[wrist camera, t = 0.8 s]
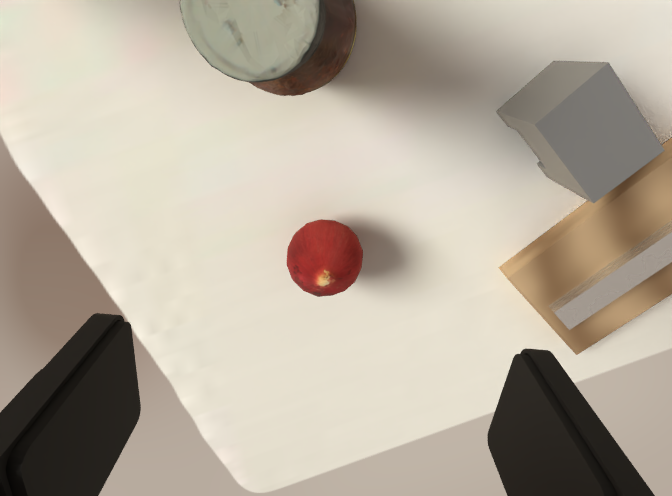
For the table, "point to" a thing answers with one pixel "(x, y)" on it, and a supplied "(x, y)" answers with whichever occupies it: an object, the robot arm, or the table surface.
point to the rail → (615, 278)
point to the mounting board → (599, 253)
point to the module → (582, 127)
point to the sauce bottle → (273, 40)
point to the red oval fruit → (324, 257)
